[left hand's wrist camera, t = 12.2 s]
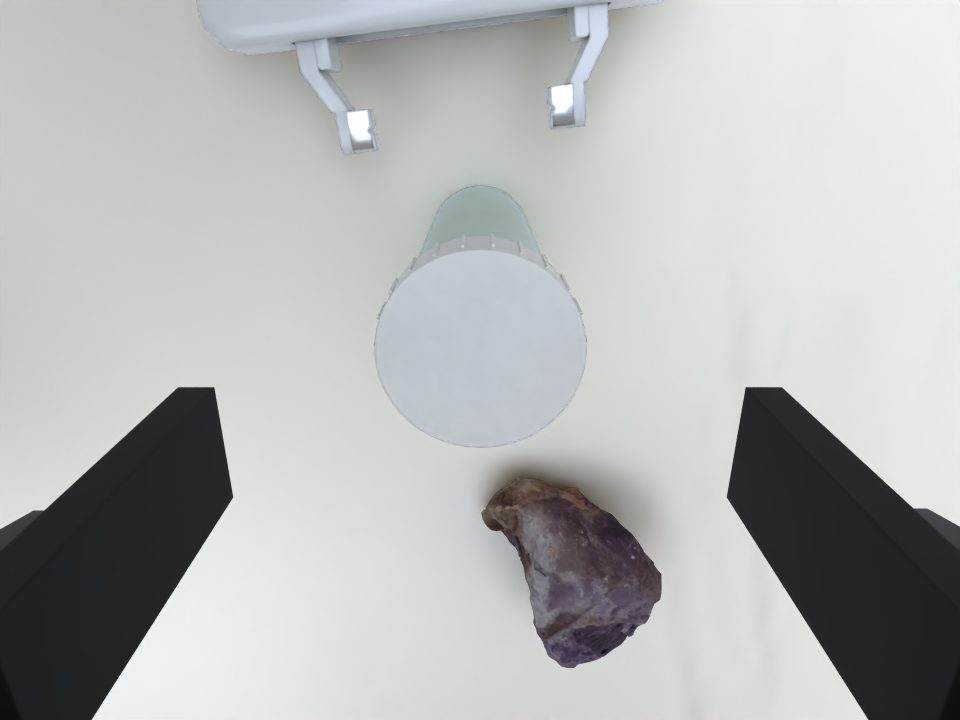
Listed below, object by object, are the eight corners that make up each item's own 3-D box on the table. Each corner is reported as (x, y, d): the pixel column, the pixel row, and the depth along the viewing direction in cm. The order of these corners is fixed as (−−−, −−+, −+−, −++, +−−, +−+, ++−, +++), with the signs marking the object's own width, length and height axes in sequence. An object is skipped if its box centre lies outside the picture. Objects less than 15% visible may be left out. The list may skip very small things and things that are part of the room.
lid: (513, 449, 22) (517, 482, 20) (348, 365, 21) (335, 391, 19) (617, 296, 20) (632, 317, 18) (440, 194, 19) (436, 204, 17)
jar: (497, 298, 38) (512, 458, 20) (415, 252, 36) (357, 380, 19) (546, 217, 36) (608, 317, 19) (461, 166, 35) (443, 222, 17)
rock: (520, 588, 47) (652, 555, 45) (532, 700, 40) (690, 664, 38) (467, 477, 41) (616, 434, 40) (468, 584, 34) (651, 536, 32)
